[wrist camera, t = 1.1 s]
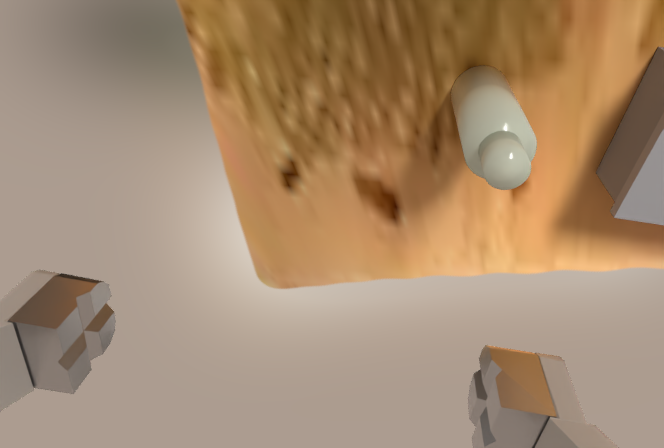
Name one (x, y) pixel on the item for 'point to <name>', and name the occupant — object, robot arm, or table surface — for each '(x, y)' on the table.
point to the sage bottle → (493, 128)
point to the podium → (639, 152)
